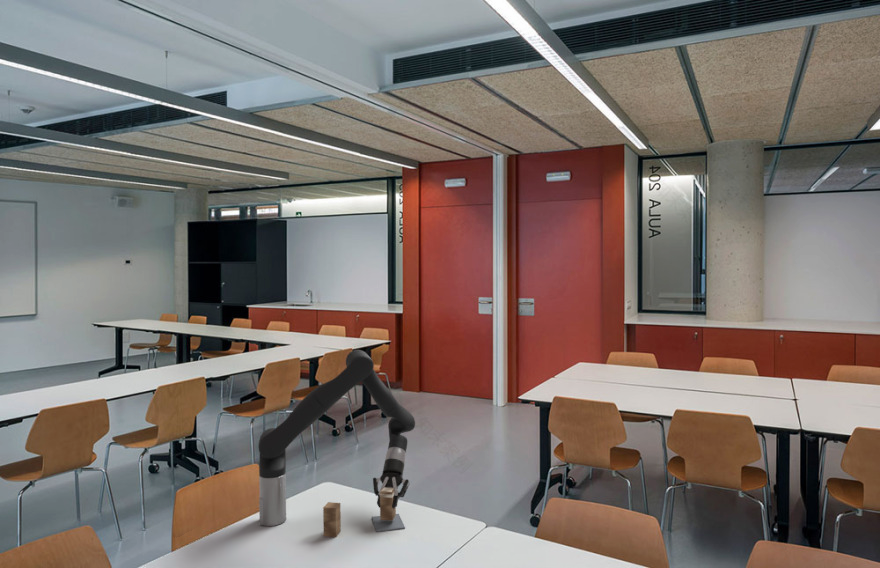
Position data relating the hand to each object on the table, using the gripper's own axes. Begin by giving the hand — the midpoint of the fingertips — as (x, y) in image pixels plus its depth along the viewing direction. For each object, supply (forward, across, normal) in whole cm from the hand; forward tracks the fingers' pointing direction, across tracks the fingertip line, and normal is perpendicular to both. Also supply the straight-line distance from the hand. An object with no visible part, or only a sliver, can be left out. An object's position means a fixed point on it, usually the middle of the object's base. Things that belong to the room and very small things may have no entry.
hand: (386, 507), depth 206 cm
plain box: (+11, -17, -2) cm, 20 cm away
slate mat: (+3, 0, +6) cm, 7 cm away
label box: (+2, 0, +5) cm, 5 cm away
